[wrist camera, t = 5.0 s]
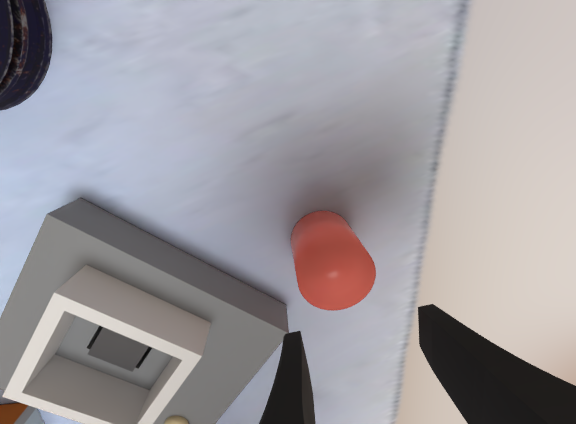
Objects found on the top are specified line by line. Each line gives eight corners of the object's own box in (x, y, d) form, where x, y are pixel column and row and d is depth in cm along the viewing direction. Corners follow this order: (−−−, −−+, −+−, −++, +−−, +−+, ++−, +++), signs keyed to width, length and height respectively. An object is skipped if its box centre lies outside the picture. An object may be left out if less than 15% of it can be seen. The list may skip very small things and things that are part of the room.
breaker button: (170, 305, 21) (152, 341, 18) (152, 333, 22) (132, 371, 19) (131, 287, 21) (106, 321, 17) (114, 316, 21) (87, 354, 18)
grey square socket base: (286, 304, 22) (292, 366, 17) (199, 415, 26) (181, 496, 20) (80, 198, 18) (4, 234, 13) (10, 345, 22) (-73, 421, 16)
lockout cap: (363, 230, 21) (391, 266, 16) (327, 275, 22) (343, 321, 17) (314, 198, 20) (329, 227, 15) (278, 247, 21) (282, 288, 16)
